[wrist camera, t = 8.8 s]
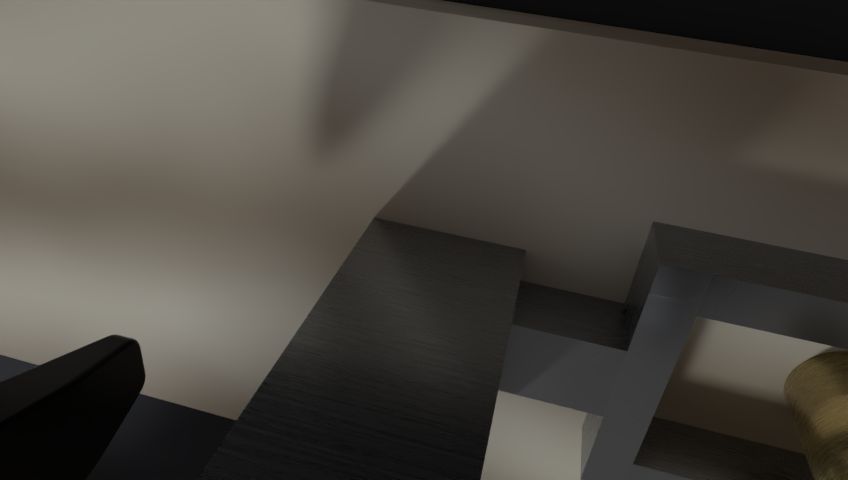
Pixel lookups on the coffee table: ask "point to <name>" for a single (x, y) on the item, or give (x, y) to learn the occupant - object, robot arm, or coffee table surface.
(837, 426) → the keeper post
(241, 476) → the end link
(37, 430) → the robot arm
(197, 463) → the coffee table surface
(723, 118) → the tie-down board
